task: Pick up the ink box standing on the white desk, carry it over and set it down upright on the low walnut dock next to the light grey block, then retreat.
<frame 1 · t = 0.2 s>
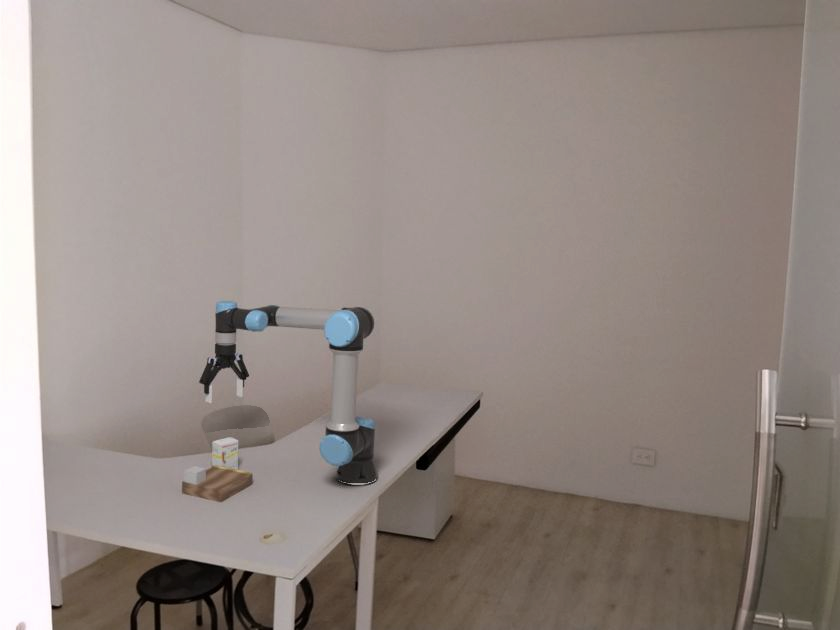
hand: (224, 399, 269), 26 cm above the table, fingers open, 13 cm apart
ink box: (225, 471, 268), on the table
light grey block: (195, 480, 247), point 4 cm above the table, touching dock
dock: (217, 488, 252), on the table
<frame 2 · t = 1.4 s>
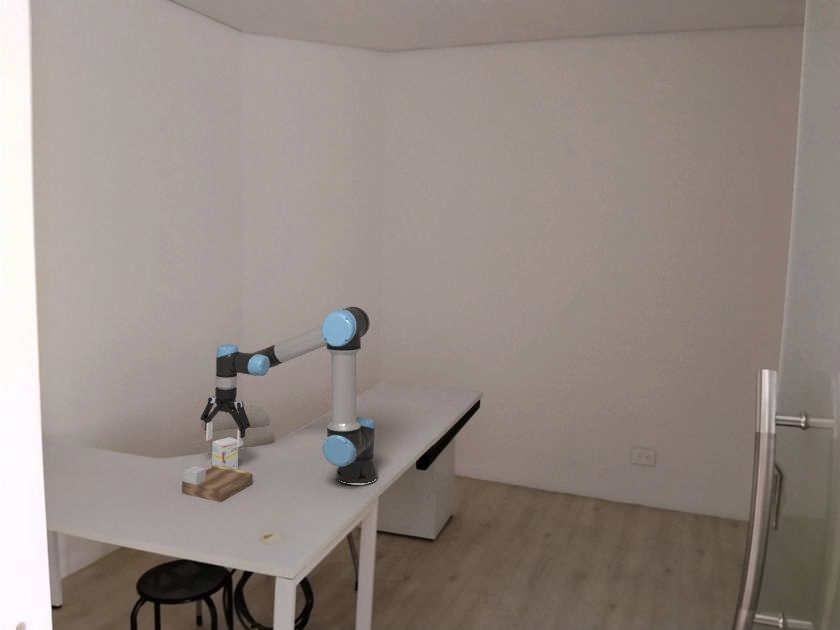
hand: (224, 442, 267), 11 cm above the table, fingers open, 13 cm apart
nothing on the table moved.
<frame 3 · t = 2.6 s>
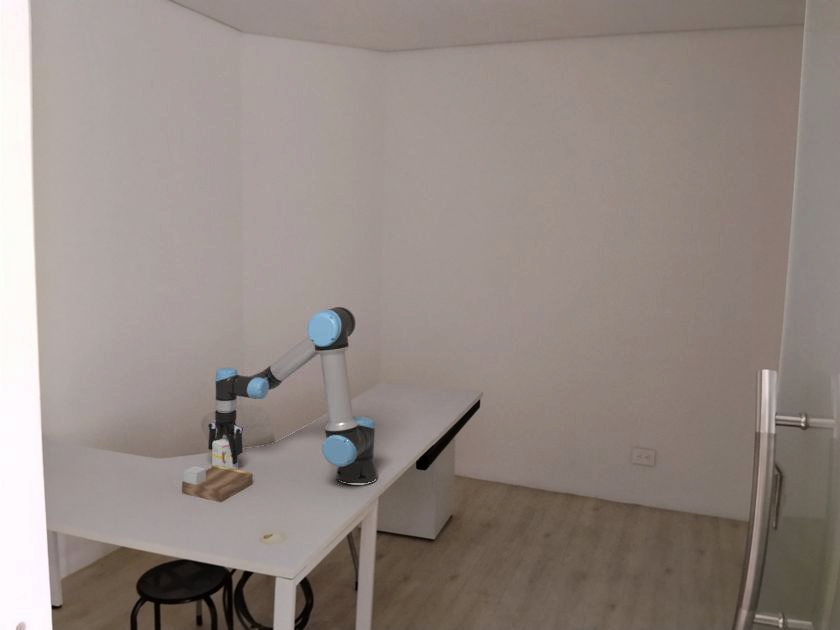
hand: (225, 470, 268), 0 cm above the table, fingers closed on ink box, 6 cm apart
ink box: (225, 471, 268), on the table, touching gripper
everything else where it was.
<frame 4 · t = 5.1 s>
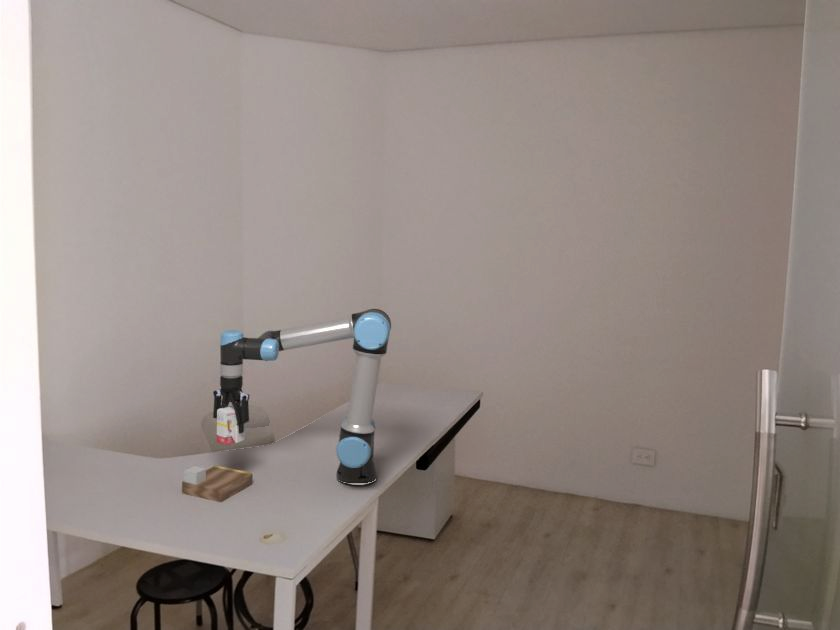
hand: (230, 439, 253), 17 cm above the table, fingers closed on ink box, 6 cm apart
ink box: (230, 441, 253), point 16 cm above the table, touching gripper
everything else where it was.
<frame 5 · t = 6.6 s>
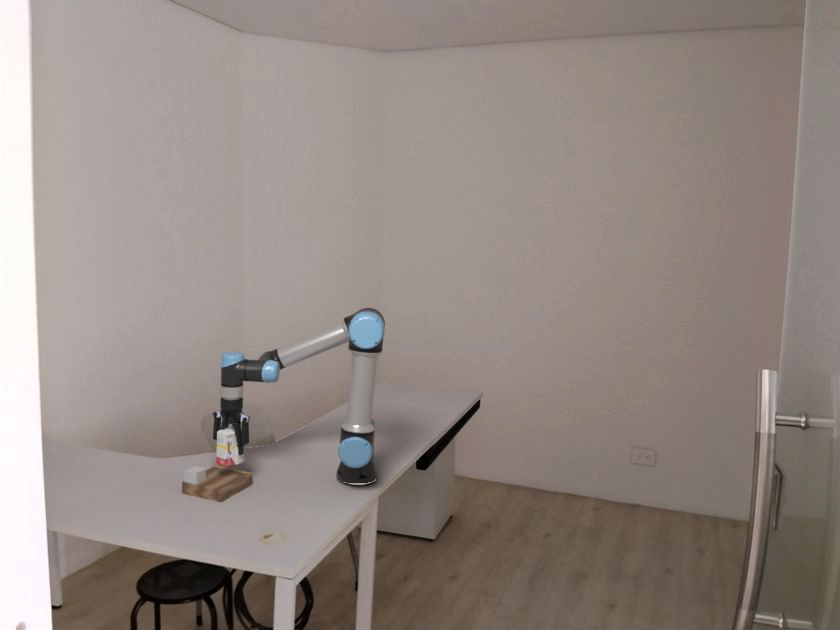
hand: (230, 461, 252), 9 cm above the table, fingers closed on ink box, 6 cm apart
ink box: (230, 463, 252), point 9 cm above the table, touching gripper
everything else where it was.
when the fingers open (6 cm above the table, at t = 7.6 s): ink box drops 1 cm, resting on dock.
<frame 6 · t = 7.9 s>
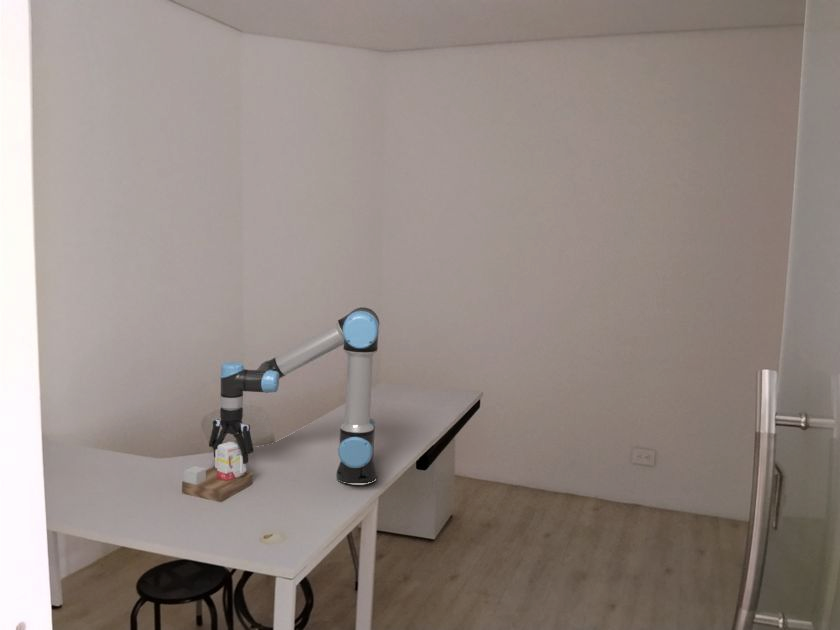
hand: (230, 469, 253), 7 cm above the table, fingers open, 9 cm apart
ink box: (230, 477, 253), point 4 cm above the table, touching dock
everything else where it was.
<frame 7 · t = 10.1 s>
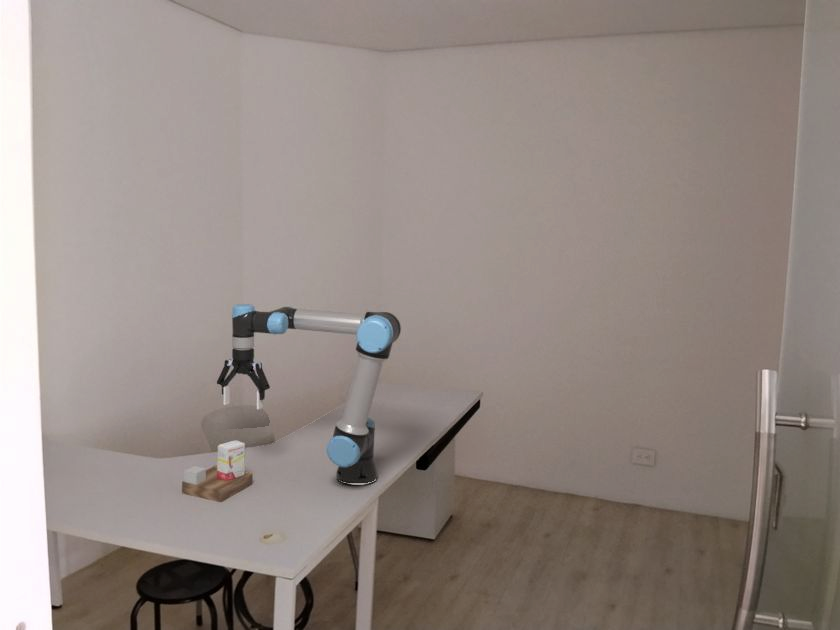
hand: (243, 406, 259), 27 cm above the table, fingers open, 13 cm apart
nothing on the table moved.
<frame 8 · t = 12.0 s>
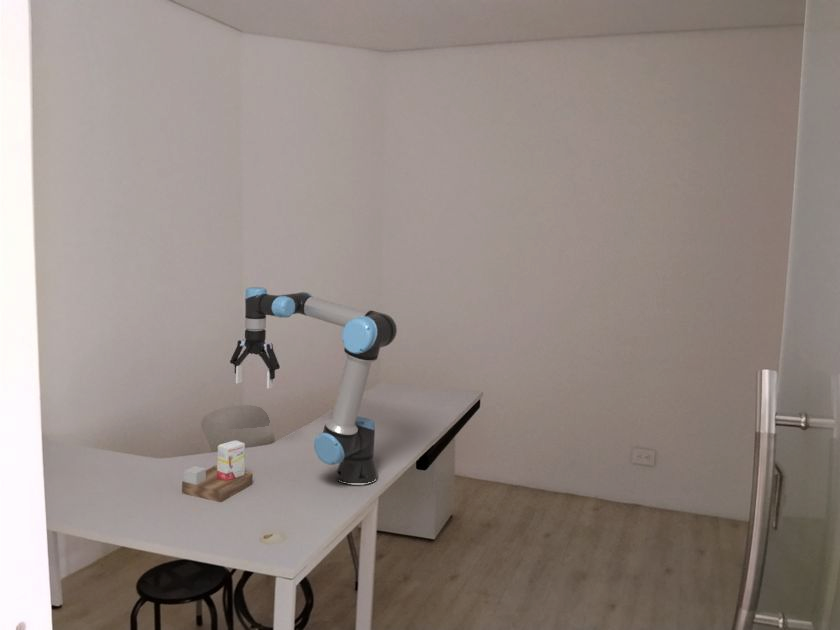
hand: (254, 385, 270), 32 cm above the table, fingers open, 13 cm apart
nothing on the table moved.
at the end: ink box inside the target area on the dock (4.4 cm from its centre), point 3.8 cm above the dock's base; ink box touching dock; ink box tilted 0° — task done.
